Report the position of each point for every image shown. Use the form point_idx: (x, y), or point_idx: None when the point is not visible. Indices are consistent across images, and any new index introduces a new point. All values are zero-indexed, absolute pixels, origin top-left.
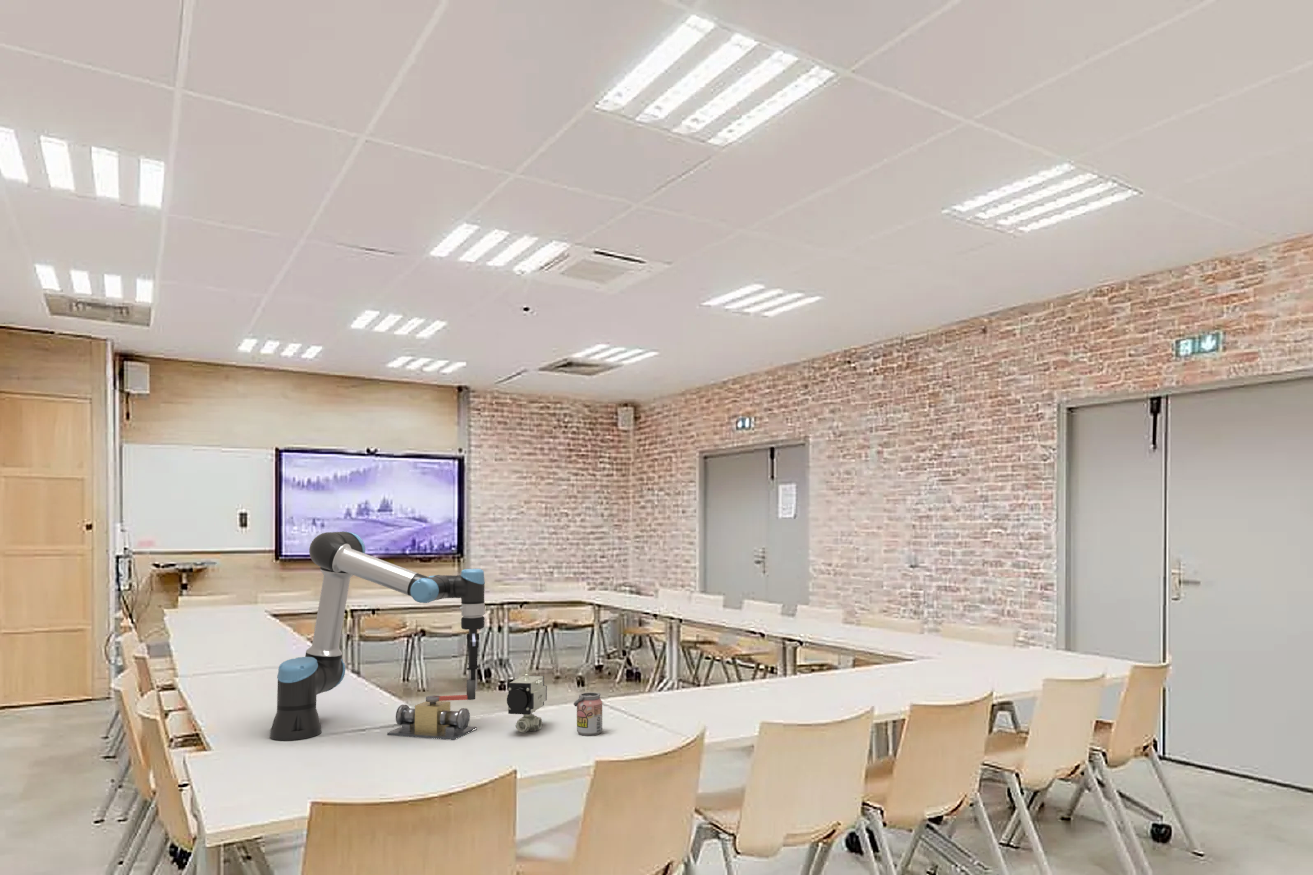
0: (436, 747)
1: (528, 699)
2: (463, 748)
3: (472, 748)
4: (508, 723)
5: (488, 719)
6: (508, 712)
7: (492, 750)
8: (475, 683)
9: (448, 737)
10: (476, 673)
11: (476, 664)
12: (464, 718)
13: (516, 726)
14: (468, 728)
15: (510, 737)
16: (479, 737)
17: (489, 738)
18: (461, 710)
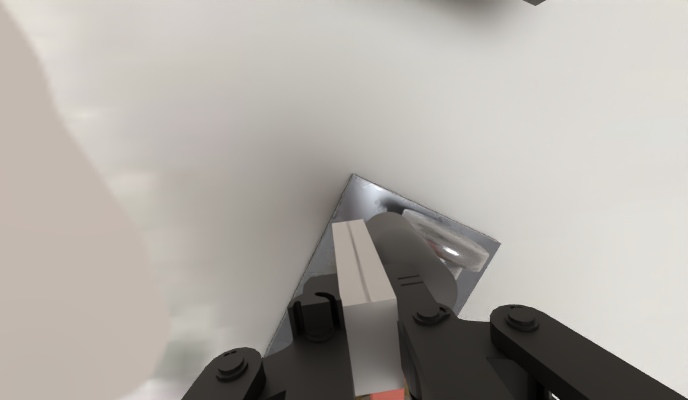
0: (571, 284)
1: None
2: (616, 198)
3: (627, 167)
4: (264, 37)
5: (174, 134)
6: (539, 2)
7: (682, 94)
8: (413, 246)
9: (487, 263)
10: (384, 279)
11: (583, 350)
12: (448, 232)
13: None
14: (375, 205)
15: (518, 25)
16: (481, 153)
17: (508, 113)
18: (476, 260)
